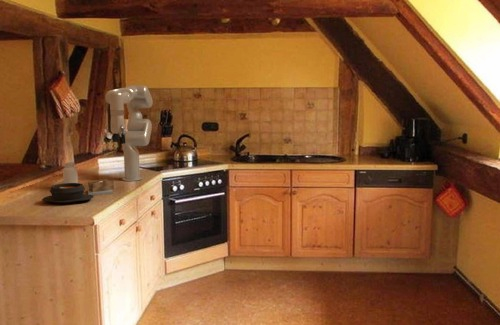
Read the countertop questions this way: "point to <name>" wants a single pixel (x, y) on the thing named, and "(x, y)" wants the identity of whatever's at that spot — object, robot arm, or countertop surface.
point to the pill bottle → (70, 173)
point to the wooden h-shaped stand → (101, 185)
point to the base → (100, 192)
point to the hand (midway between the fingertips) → (119, 142)
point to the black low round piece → (67, 193)
